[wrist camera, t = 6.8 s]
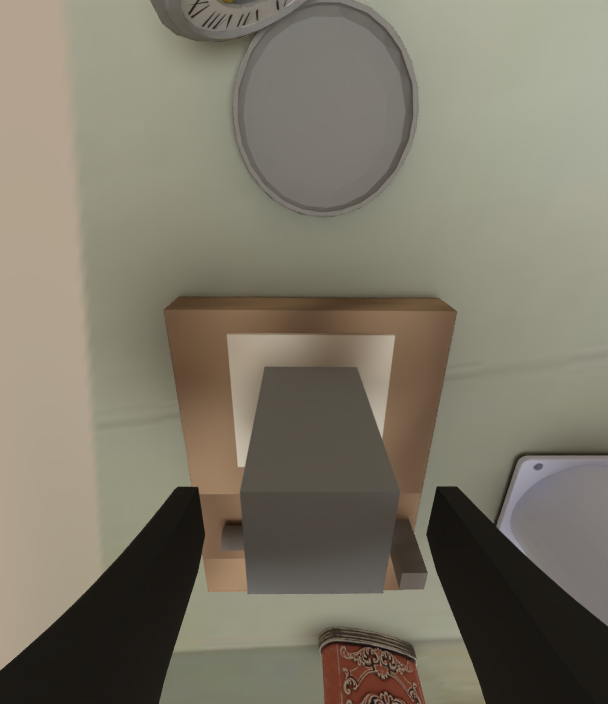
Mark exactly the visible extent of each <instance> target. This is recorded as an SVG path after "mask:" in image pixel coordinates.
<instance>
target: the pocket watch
mask: <svg viewBox="0 0 608 704" xmlns="http://www.w3.org/2000/svg"><path fill="white" fill-rule="evenodd" d="M150 1H151V3H152V5H153V7H154V9H155V11H156V12H157V14H158V16H159V18H160V20H161V22H162V24H163V25H165V26H166V27H167V28H168V29H170V30H171V31H172V32H173V33H175V34H176V35H179V36H182V37H186V38H189V39H192V40H196V41H214V42H220V41H225V40H230V39H235V38H239V37H242V36H245V35H248V34H251V33H254V32H256V33H257V32H258V33H257V34H256V35H255V37H254V38H253V39H252V41H251V43H250V45H249V47H248V49H247V51H246V54H245V56H244V58H243V60H242V62H241V64H240V66H239V69H238V73H237V78H236V82H235V87H234V98H233V119H234V130H235V137H236V140H237V143H238V146H239V149H240V152H241V155H242V158H243V161H244V163H245V165H246V167H247V168H248V170H249V172H250V173H251V175H252V176H253V177H254V179H255V180H256V181H257V183H258V184H259V185H260V187H261V188H262V189H263V190H264V191H265V192H266V193H267V194H268V195H269V196H270V197H271V198H272V199H274V200H275V201H277V202H279V203H280V204H282V205H284V206H285V207H287V208H289V209H290V210H293V211H295V212H297V213H300V214H304V215H310V216H319V217H334V216H338V215H342V214H345V213H348V212H351V211H354V210H356V209H358V208H361V207H363V206H364V205H366V204H367V203H369V202H370V201H372V200H373V199H374V198H376V197H377V196H379V195H380V194H381V193H382V192H383V191H384V190H385V189H386V188H387V187H388V185H389V184H390V183H391V182H392V181H393V179H394V178H395V176H396V175H397V173H398V172H399V171H400V169H401V168H402V166H403V164H404V161H405V159H406V157H407V155H408V153H409V150H410V148H411V146H412V142H413V138H414V134H415V130H416V126H417V118H418V87H417V82H416V78H415V74H414V70H413V65H412V61H411V59H410V57H409V55H408V53H407V51H406V49H405V47H404V45H403V43H402V41H401V38H400V37H399V35H398V34H397V33H396V31H395V30H394V28H393V27H392V26H391V25H390V24H389V23H388V22H387V21H386V20H385V19H384V18H382V17H381V16H380V15H379V14H378V13H377V12H376V11H374V10H373V9H372V8H371V7H369V6H366V5H364V4H362V3H359V2H357V1H354V0H150Z"/></svg>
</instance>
